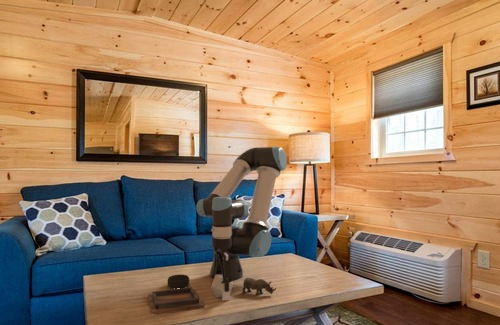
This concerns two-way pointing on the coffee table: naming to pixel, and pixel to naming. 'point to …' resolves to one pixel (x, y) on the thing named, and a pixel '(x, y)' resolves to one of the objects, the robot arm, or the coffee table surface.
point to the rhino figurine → (257, 286)
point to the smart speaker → (178, 281)
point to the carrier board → (174, 300)
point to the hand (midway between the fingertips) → (222, 295)
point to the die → (219, 286)
